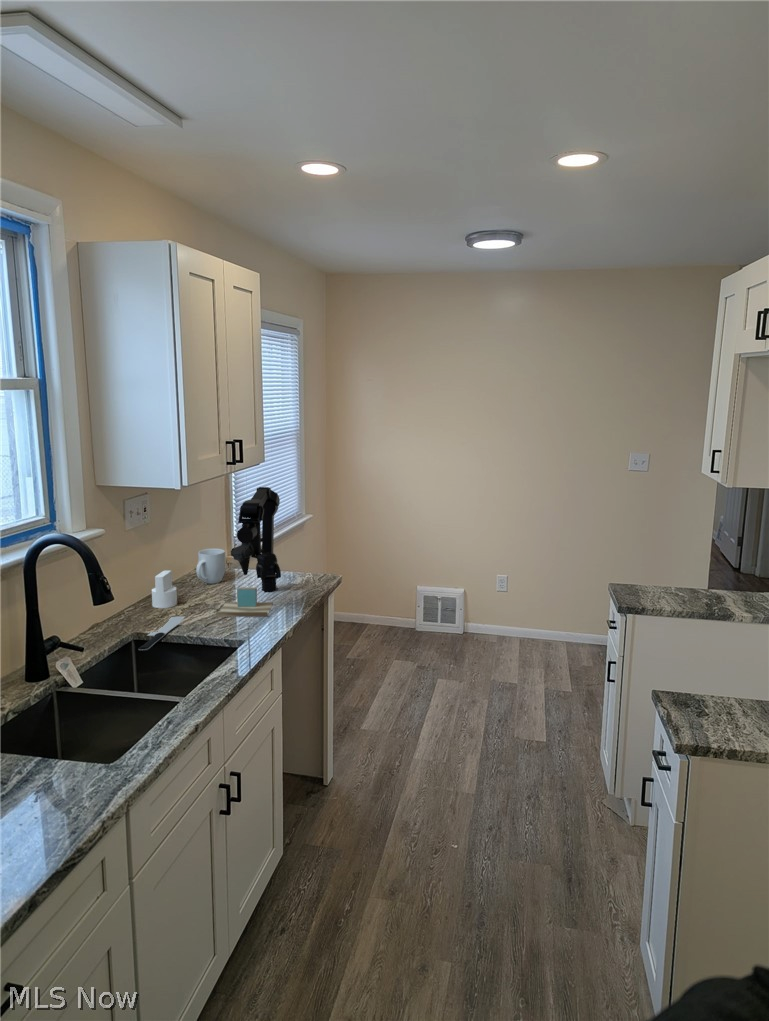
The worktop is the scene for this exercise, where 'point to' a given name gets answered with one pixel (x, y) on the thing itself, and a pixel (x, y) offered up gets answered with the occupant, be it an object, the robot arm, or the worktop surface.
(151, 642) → the kitchen cleaver
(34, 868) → the worktop surface
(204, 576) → the mug
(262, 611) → the board
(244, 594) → the tile
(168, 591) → the base with upright slab
